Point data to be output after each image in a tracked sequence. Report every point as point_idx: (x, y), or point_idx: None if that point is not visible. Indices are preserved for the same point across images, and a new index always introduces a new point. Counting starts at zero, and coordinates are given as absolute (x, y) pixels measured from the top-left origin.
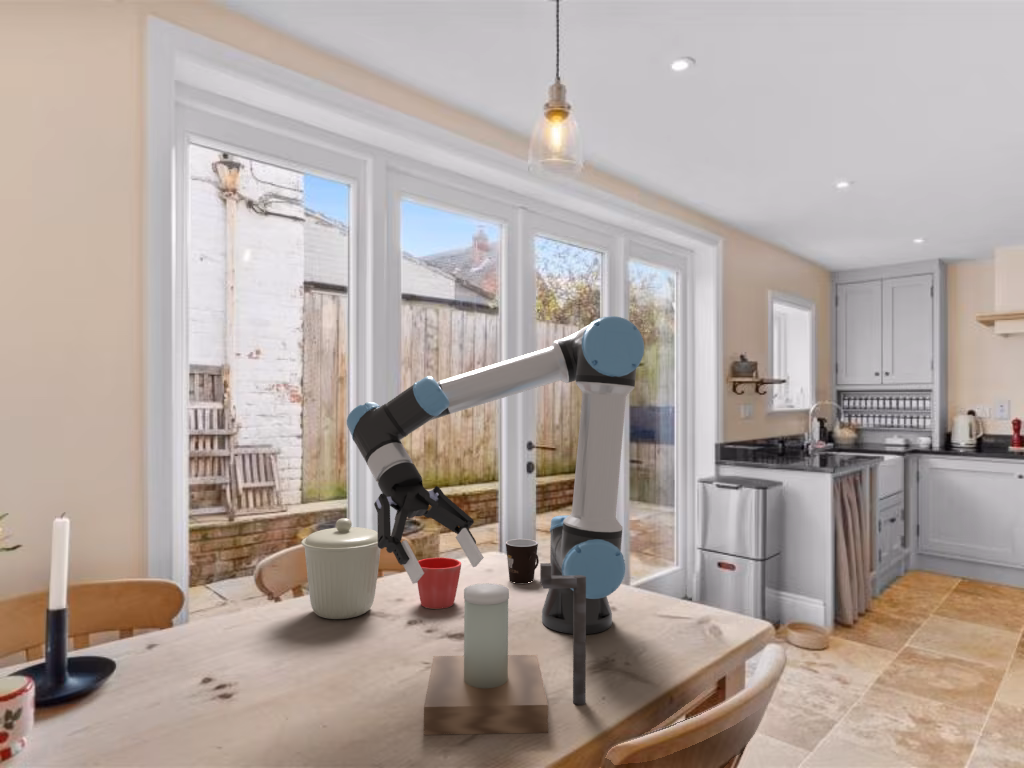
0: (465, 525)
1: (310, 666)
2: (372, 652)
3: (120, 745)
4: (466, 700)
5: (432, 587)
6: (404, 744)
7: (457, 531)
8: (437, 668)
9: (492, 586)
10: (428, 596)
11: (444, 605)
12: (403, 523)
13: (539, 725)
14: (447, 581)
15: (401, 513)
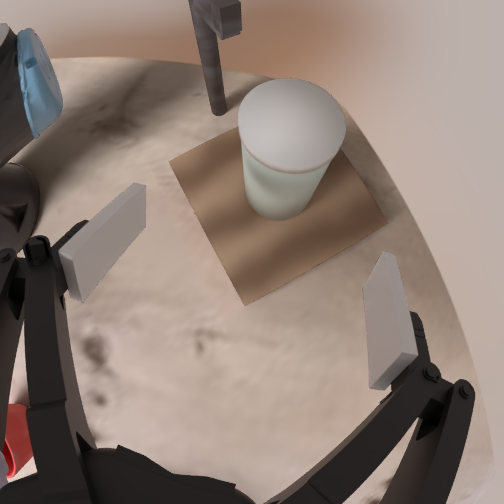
0: (45, 258)
1: (290, 475)
2: (208, 438)
3: (477, 457)
4: (347, 182)
5: (25, 435)
6: (398, 239)
7: (60, 301)
8: (283, 272)
9: (261, 117)
10: None
11: None
12: (371, 433)
13: None
14: (7, 416)
15: (349, 492)
